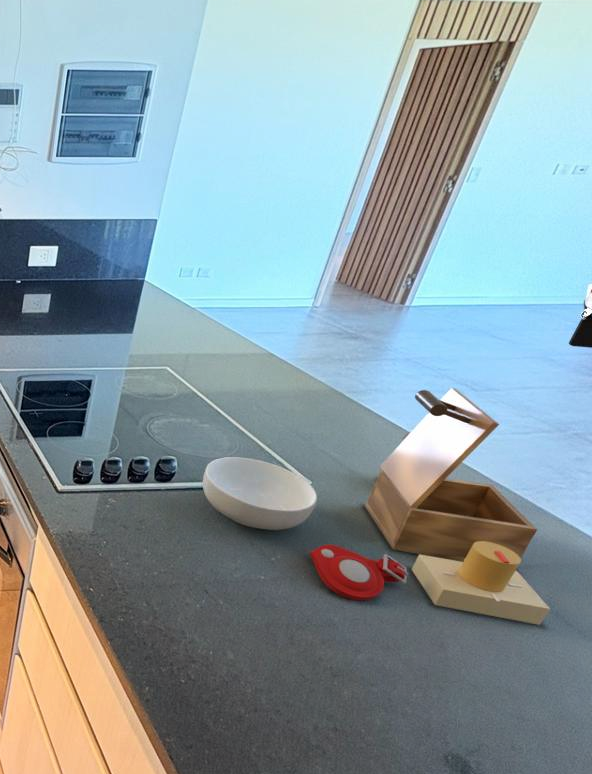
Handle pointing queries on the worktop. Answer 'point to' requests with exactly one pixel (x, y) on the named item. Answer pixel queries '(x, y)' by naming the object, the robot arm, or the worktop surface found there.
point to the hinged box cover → (436, 444)
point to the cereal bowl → (258, 493)
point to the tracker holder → (355, 572)
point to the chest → (448, 519)
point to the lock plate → (478, 592)
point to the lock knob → (489, 566)
